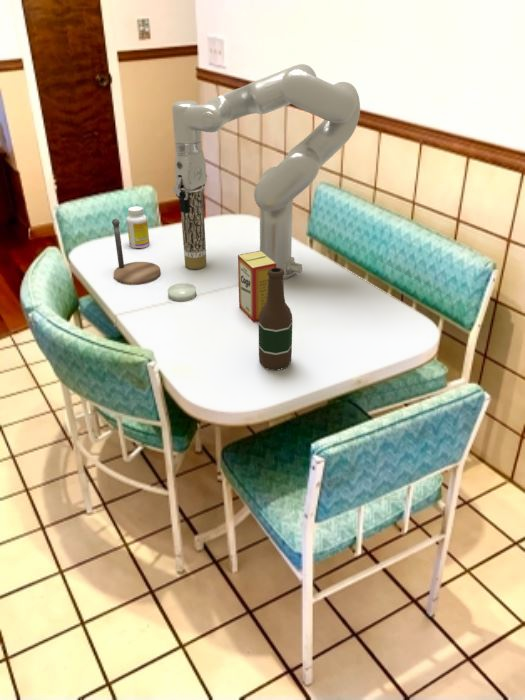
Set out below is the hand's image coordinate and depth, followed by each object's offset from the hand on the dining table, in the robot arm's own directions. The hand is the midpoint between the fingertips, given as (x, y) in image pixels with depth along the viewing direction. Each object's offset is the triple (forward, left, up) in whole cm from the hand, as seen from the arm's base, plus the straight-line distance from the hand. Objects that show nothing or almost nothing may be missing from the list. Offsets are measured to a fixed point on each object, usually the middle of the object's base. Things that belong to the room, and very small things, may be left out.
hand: (192, 207), depth 190 cm
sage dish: (-8, +19, -19) cm, 28 cm away
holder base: (+12, +14, -19) cm, 26 cm away
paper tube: (0, 0, -19) cm, 19 cm away
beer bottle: (-48, +38, -19) cm, 64 cm away
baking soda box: (-32, +18, -19) cm, 41 cm away
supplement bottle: (+26, -5, -19) cm, 33 cm away
